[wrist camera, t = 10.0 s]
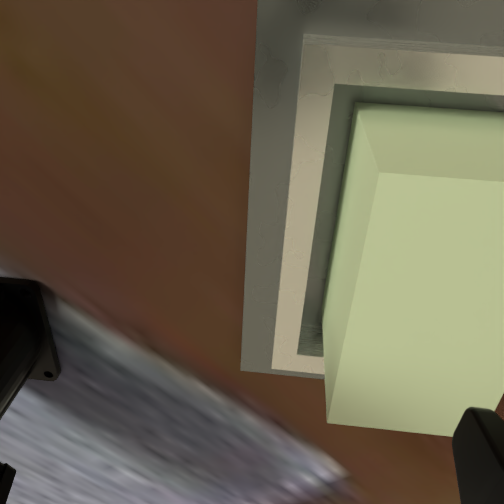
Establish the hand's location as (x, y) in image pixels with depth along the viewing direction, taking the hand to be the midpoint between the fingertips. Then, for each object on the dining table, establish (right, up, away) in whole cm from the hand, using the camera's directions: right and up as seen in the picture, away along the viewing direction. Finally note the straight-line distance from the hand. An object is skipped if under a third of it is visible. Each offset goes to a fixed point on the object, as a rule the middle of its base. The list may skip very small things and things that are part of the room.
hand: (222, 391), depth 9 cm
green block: (+6, +4, +9) cm, 12 cm away
